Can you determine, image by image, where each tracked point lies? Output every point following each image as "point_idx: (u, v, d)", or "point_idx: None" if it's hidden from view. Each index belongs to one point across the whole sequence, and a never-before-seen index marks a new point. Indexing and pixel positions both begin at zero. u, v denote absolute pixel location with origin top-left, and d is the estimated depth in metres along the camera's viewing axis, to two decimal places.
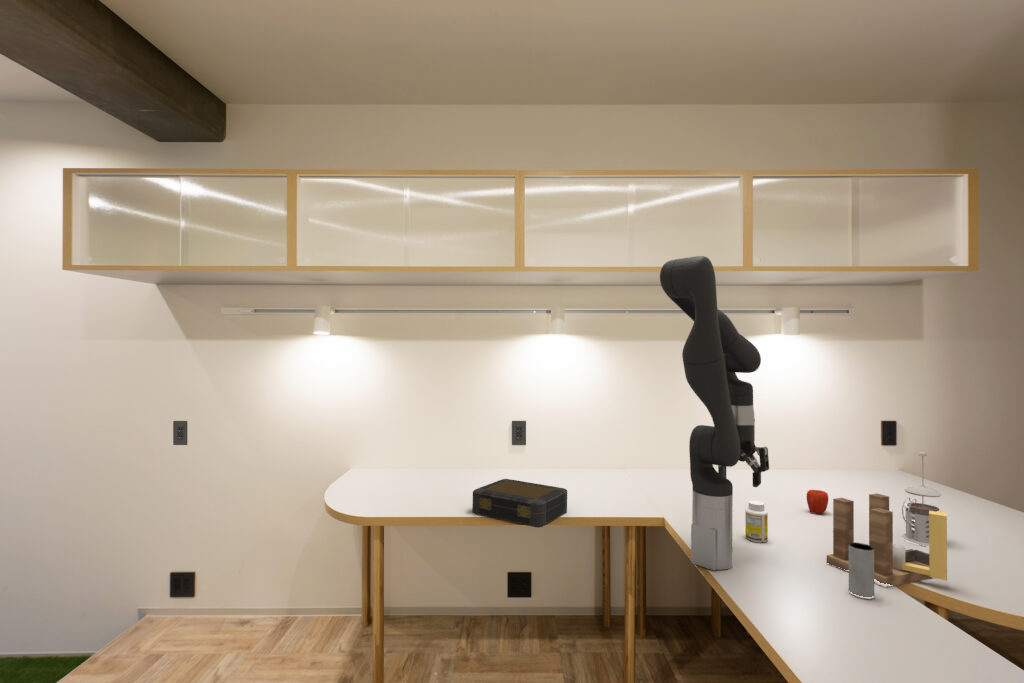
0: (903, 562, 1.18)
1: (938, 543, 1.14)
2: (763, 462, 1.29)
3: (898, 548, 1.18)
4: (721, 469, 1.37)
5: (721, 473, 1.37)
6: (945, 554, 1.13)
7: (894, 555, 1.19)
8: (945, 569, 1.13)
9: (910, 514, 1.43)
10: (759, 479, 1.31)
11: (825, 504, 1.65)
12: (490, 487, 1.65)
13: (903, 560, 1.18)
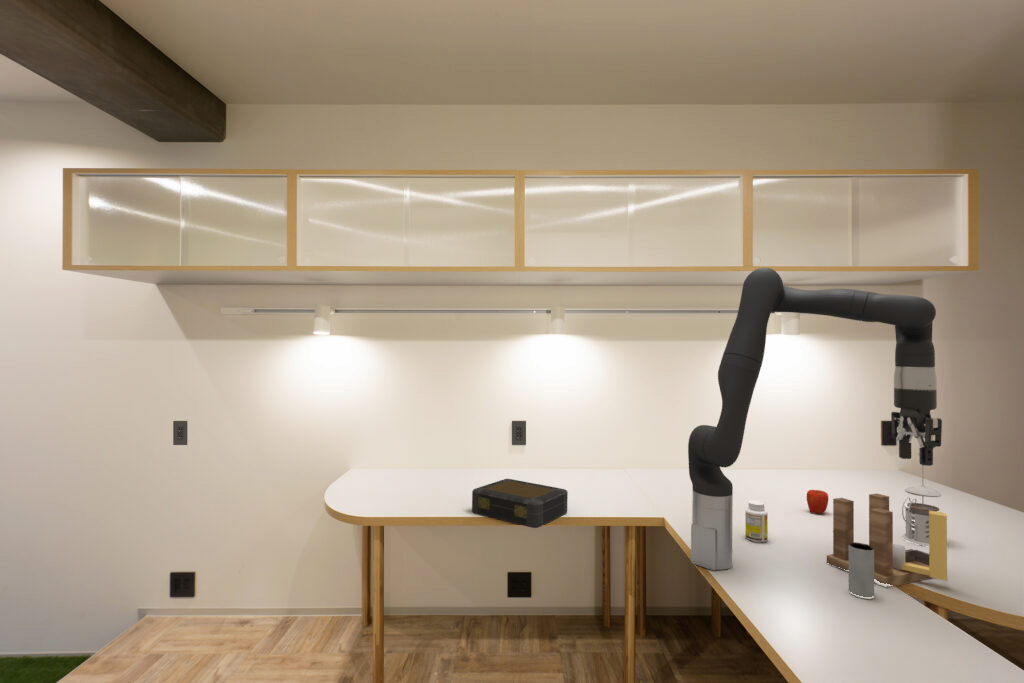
0: (903, 562, 1.18)
1: (938, 543, 1.14)
2: None
3: (898, 548, 1.18)
4: None
5: None
6: (945, 554, 1.13)
7: (894, 555, 1.19)
8: (945, 569, 1.13)
9: (910, 514, 1.43)
10: None
11: (825, 504, 1.65)
12: (490, 487, 1.65)
13: (903, 560, 1.18)
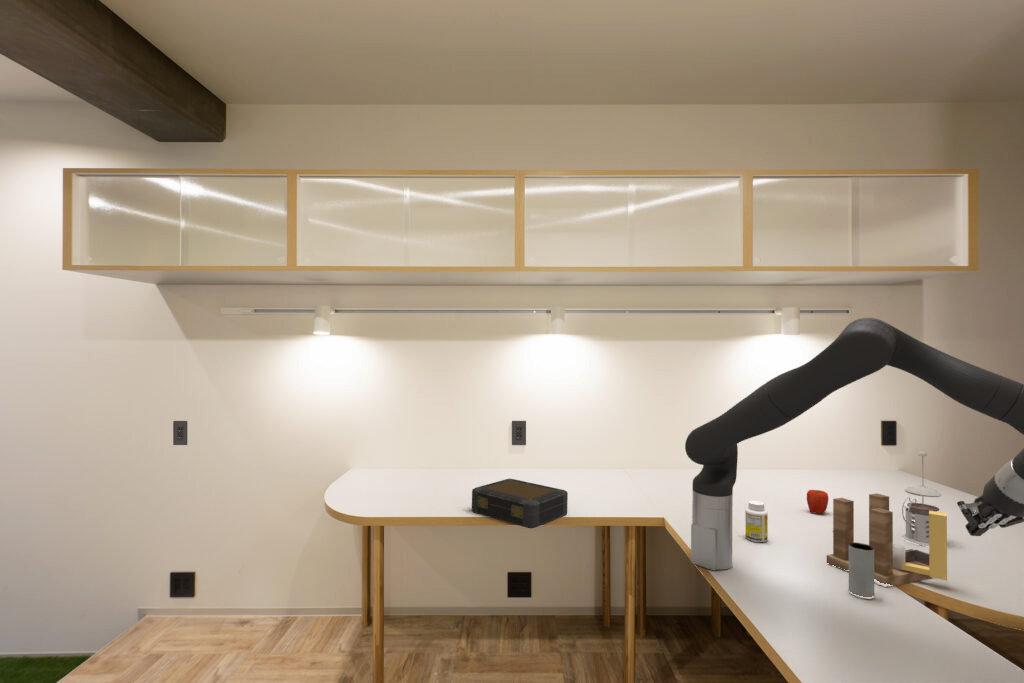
0: (903, 562, 1.18)
1: (938, 543, 1.14)
2: (1015, 523, 0.99)
3: (898, 548, 1.18)
4: (981, 529, 1.02)
5: (978, 532, 1.03)
6: (945, 554, 1.13)
7: (894, 555, 1.19)
8: (945, 569, 1.13)
9: (910, 514, 1.43)
10: None
11: (825, 504, 1.65)
12: (490, 486, 1.66)
13: (903, 560, 1.18)
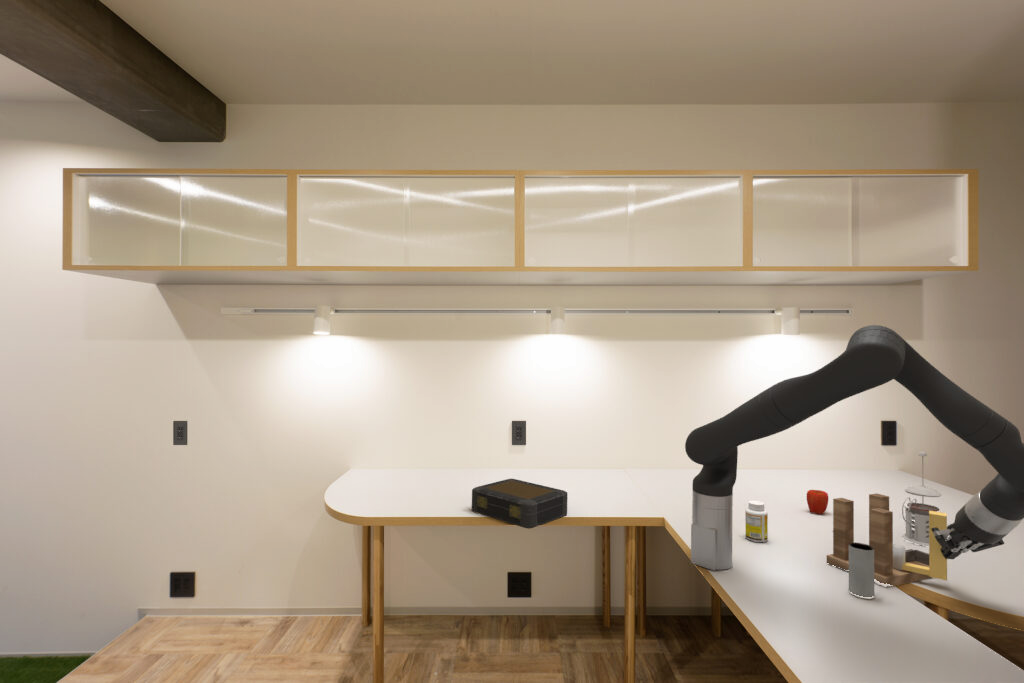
0: (903, 562, 1.18)
1: (938, 543, 1.14)
2: (985, 548, 1.06)
3: (898, 548, 1.18)
4: (954, 553, 1.09)
5: (951, 555, 1.10)
6: None
7: (894, 555, 1.19)
8: (945, 569, 1.13)
9: (910, 514, 1.43)
10: None
11: (825, 504, 1.65)
12: (490, 486, 1.66)
13: (903, 560, 1.18)
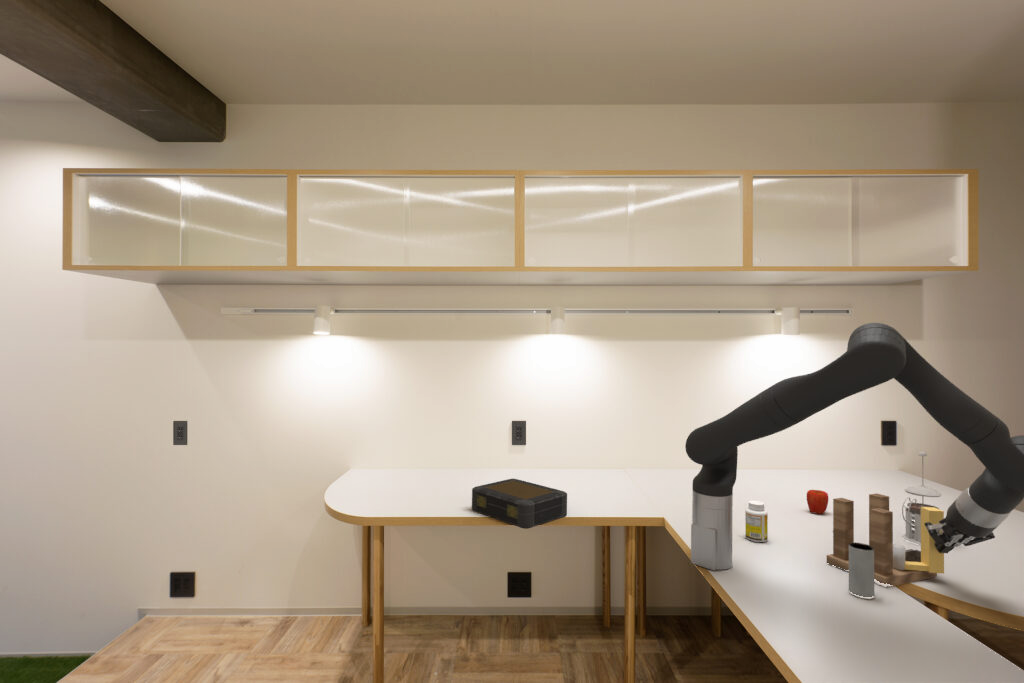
0: (905, 562, 1.18)
1: None
2: (976, 542, 1.10)
3: (902, 548, 1.18)
4: (947, 547, 1.13)
5: (945, 549, 1.14)
6: None
7: (897, 556, 1.18)
8: (942, 562, 1.16)
9: (910, 514, 1.43)
10: None
11: (825, 504, 1.65)
12: (490, 486, 1.67)
13: None
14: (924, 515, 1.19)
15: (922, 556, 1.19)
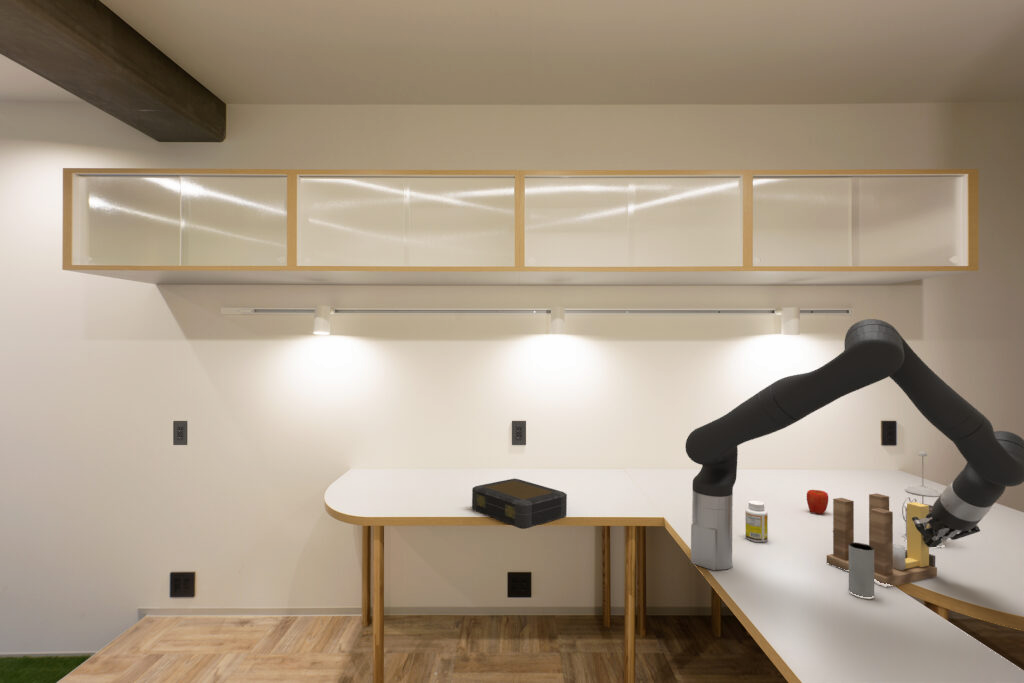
0: None
1: None
2: (963, 536, 1.14)
3: (904, 548, 1.18)
4: (935, 541, 1.17)
5: (933, 543, 1.17)
6: None
7: (900, 557, 1.18)
8: (928, 555, 1.21)
9: None
10: None
11: (825, 504, 1.65)
12: (490, 485, 1.67)
13: None
14: (913, 511, 1.21)
15: (909, 551, 1.22)
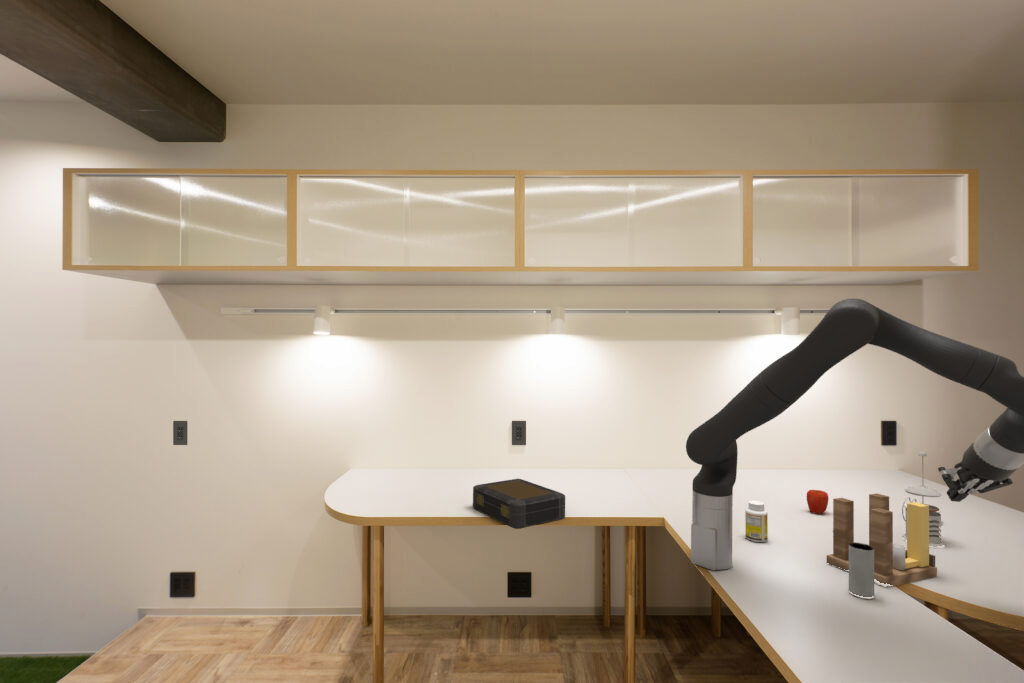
0: None
1: (925, 532, 1.20)
2: (992, 489, 1.05)
3: (904, 548, 1.18)
4: (960, 494, 1.08)
5: (958, 497, 1.08)
6: (928, 541, 1.21)
7: (900, 557, 1.18)
8: (928, 555, 1.21)
9: None
10: None
11: (825, 504, 1.65)
12: (491, 485, 1.68)
13: None
14: (913, 511, 1.21)
15: (909, 551, 1.22)
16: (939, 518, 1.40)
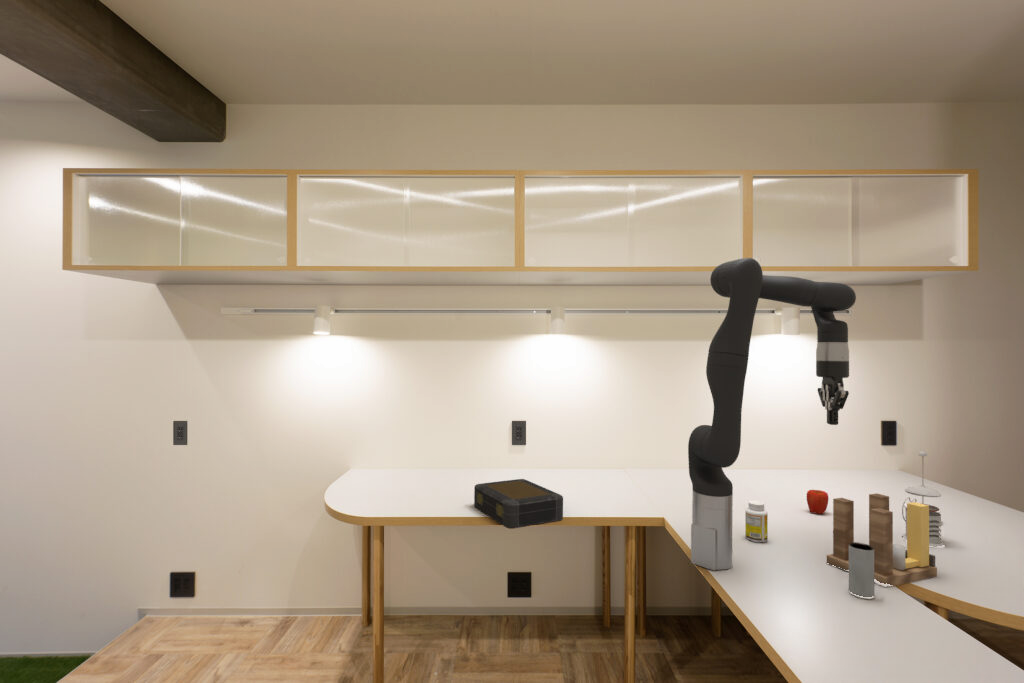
0: None
1: (925, 532, 1.20)
2: None
3: (904, 548, 1.18)
4: None
5: None
6: (928, 541, 1.21)
7: (900, 557, 1.18)
8: (928, 555, 1.21)
9: None
10: None
11: (825, 504, 1.65)
12: (492, 484, 1.69)
13: None
14: (913, 511, 1.21)
15: (909, 551, 1.22)
16: (939, 518, 1.40)
